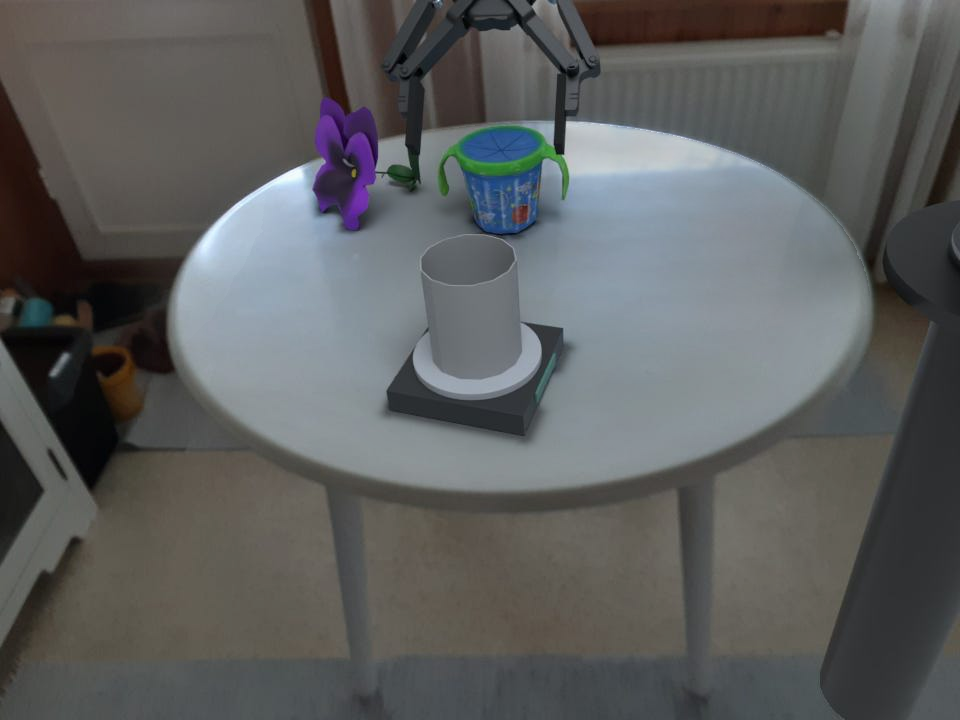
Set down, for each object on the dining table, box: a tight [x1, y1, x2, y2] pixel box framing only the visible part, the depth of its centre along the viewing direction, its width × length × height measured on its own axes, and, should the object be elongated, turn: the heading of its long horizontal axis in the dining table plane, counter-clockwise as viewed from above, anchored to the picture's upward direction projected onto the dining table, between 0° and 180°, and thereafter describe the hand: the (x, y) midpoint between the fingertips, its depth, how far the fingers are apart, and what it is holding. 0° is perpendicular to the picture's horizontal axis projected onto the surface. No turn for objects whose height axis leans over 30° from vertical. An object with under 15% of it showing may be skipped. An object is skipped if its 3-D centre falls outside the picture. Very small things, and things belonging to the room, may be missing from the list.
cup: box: [419, 233, 522, 380], centre depth 75 cm, size 8×8×10 cm
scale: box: [385, 321, 565, 436], centre depth 79 cm, size 13×13×3 cm
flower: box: [311, 96, 422, 231], centre depth 107 cm, size 15×15×14 cm
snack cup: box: [437, 125, 570, 235], centre depth 100 cm, size 16×10×10 cm
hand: (484, 150), depth 77 cm, fingers open, 13 cm apart
